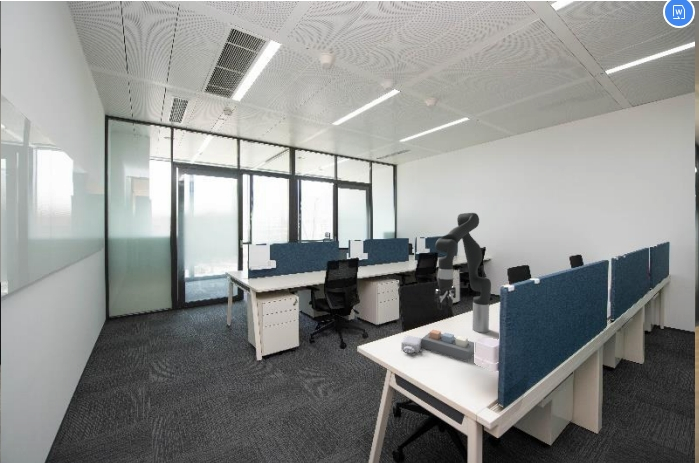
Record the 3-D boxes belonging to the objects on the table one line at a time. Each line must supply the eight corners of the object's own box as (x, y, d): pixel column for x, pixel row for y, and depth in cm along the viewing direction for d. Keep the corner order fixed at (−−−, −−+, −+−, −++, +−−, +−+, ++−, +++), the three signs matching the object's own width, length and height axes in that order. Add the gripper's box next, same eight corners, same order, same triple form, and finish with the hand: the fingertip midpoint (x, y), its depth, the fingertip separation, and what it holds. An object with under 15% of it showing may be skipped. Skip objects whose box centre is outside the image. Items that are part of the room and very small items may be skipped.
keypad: (431, 339, 164) (431, 331, 164) (475, 352, 149) (475, 342, 148) (421, 347, 154) (421, 338, 153) (467, 361, 139) (467, 351, 138)
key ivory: (458, 345, 150) (458, 335, 150) (467, 347, 147) (467, 338, 147) (455, 348, 146) (455, 338, 146) (464, 350, 143) (464, 341, 143)
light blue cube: (445, 341, 154) (445, 332, 154) (453, 344, 151) (453, 334, 151) (442, 344, 151) (442, 335, 150) (450, 347, 148) (450, 337, 148)
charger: (398, 355, 146) (405, 343, 159) (416, 358, 142) (421, 346, 156) (398, 346, 146) (405, 335, 159) (416, 349, 142) (421, 337, 156)
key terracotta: (432, 338, 159) (432, 329, 158) (440, 340, 156) (441, 331, 156) (429, 341, 155) (429, 332, 155) (437, 343, 152) (437, 334, 152)
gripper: (448, 274, 156) (447, 303, 157) (430, 277, 148) (430, 308, 149) (460, 276, 150) (459, 307, 150) (442, 279, 142) (442, 312, 143)
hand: (445, 307), depth 150 cm, fingers open, 8 cm apart
